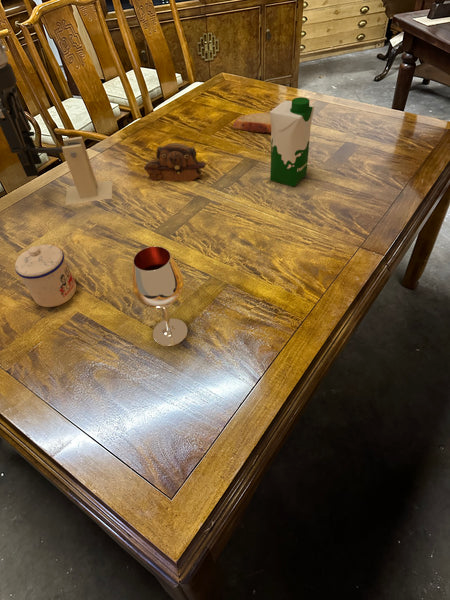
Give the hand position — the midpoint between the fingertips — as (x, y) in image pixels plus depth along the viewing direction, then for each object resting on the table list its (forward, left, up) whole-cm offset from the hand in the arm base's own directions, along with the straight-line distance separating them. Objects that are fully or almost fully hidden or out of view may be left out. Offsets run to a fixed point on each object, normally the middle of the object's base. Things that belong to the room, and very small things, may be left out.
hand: (34, 169), depth 102 cm
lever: (+5, +3, +3) cm, 6 cm away
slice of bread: (+44, +53, -10) cm, 70 cm away
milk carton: (+57, +26, -10) cm, 64 cm away
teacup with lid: (+21, -27, -10) cm, 35 cm away
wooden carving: (+29, +17, -10) cm, 36 cm away
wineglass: (+49, -31, -10) cm, 59 cm away
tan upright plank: (+9, +5, -10) cm, 14 cm away
